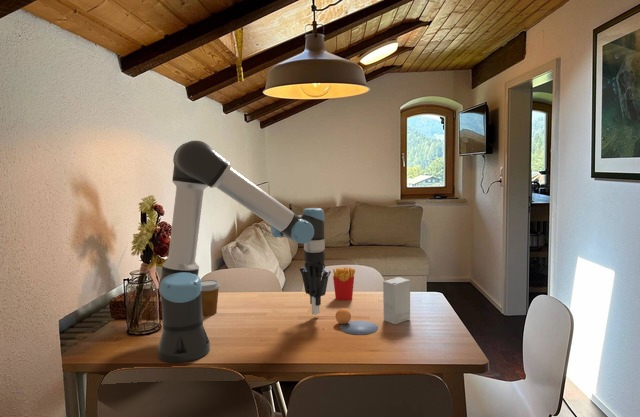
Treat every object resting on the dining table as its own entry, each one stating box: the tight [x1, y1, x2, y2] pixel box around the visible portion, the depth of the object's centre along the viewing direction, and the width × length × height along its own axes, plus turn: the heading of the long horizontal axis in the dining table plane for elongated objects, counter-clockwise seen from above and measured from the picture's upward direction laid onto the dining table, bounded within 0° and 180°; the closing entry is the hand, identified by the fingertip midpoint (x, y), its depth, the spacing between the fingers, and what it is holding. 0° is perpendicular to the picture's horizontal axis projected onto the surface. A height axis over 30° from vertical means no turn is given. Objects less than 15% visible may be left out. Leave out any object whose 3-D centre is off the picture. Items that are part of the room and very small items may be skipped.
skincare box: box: [382, 276, 411, 325], centre depth 164 cm, size 8×6×15 cm
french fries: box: [332, 266, 356, 301], centre depth 191 cm, size 9×4×13 cm, turn 89°
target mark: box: [339, 320, 379, 336], centre depth 158 cm, size 13×13×1 cm
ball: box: [334, 307, 352, 325], centre depth 162 cm, size 6×6×6 cm
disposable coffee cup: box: [201, 279, 221, 317], centre depth 176 cm, size 10×10×12 cm
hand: (315, 313), depth 169 cm, fingers closed
